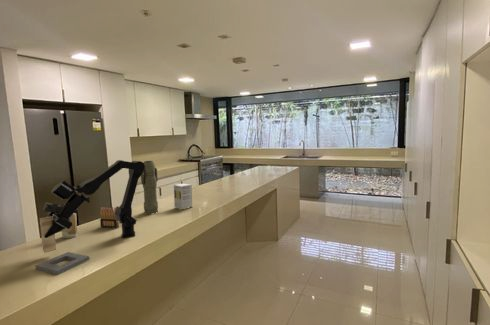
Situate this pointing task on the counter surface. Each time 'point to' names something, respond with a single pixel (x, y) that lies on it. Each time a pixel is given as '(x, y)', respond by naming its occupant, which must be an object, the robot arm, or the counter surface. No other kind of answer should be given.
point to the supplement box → (183, 196)
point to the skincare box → (73, 230)
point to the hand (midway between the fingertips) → (44, 236)
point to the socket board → (55, 269)
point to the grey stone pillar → (150, 187)
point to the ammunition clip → (108, 218)
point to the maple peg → (49, 241)
